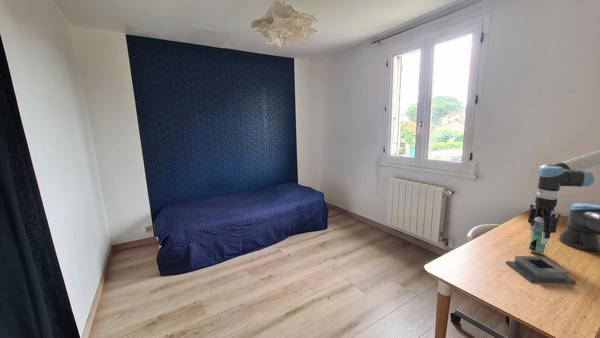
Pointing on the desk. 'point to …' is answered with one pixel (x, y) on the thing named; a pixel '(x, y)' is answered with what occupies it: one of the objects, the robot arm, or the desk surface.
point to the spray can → (537, 235)
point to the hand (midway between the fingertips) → (538, 240)
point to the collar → (539, 270)
